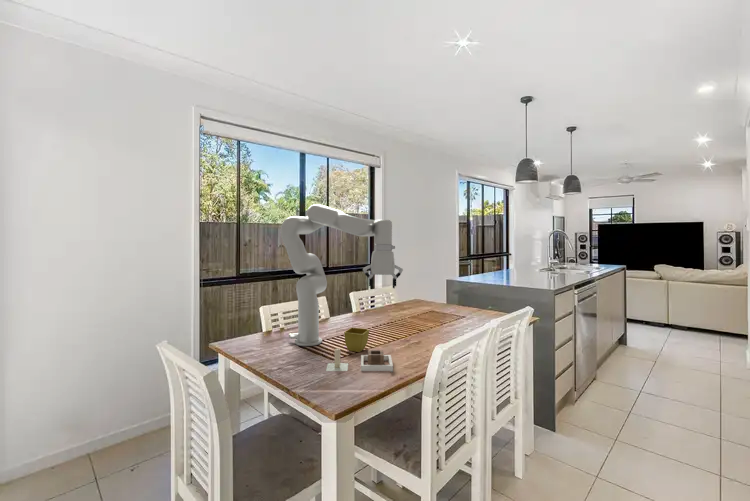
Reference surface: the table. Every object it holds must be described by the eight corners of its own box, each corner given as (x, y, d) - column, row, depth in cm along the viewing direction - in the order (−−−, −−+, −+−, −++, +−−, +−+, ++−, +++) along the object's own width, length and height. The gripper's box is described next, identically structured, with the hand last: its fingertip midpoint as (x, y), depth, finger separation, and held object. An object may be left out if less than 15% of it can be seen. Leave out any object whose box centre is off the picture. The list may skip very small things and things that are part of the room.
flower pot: (369, 348, 163) (369, 329, 163) (362, 355, 155) (362, 334, 154) (351, 346, 166) (351, 327, 166) (343, 352, 158) (343, 332, 157)
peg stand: (325, 372, 135) (325, 352, 135) (327, 364, 143) (328, 346, 143) (347, 372, 135) (347, 352, 135) (348, 364, 143) (348, 346, 143)
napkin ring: (367, 362, 145) (367, 350, 144) (382, 362, 145) (382, 350, 145) (367, 368, 139) (368, 355, 138) (383, 368, 139) (383, 355, 139)
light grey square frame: (360, 372, 136) (360, 365, 135) (361, 361, 148) (361, 355, 147) (392, 372, 136) (393, 365, 136) (390, 361, 148) (390, 355, 148)
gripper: (402, 248, 161) (401, 286, 161) (362, 247, 160) (362, 286, 161) (404, 248, 153) (403, 289, 154) (362, 248, 153) (362, 289, 153)
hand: (382, 287), depth 157 cm, fingers open, 9 cm apart
